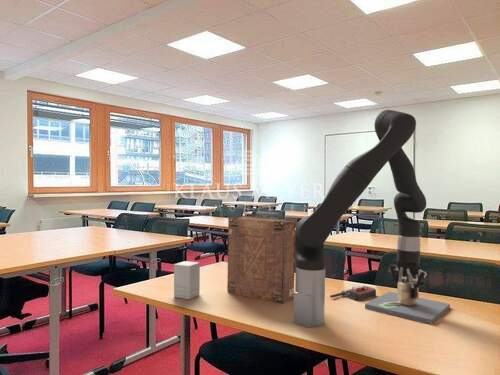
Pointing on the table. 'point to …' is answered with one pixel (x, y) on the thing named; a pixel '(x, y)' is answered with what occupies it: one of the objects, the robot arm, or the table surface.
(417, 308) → the grey flat square slab
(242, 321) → the table surface
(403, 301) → the tuning knob
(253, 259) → the book
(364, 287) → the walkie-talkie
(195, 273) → the supplement box
